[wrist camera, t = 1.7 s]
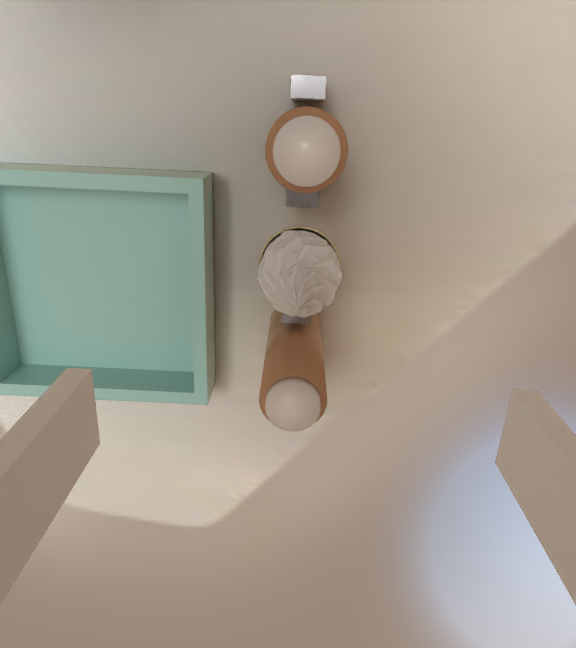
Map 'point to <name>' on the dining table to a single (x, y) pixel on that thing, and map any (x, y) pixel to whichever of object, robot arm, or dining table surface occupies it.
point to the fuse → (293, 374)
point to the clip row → (300, 91)
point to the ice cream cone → (299, 271)
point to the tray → (107, 281)
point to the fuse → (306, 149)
